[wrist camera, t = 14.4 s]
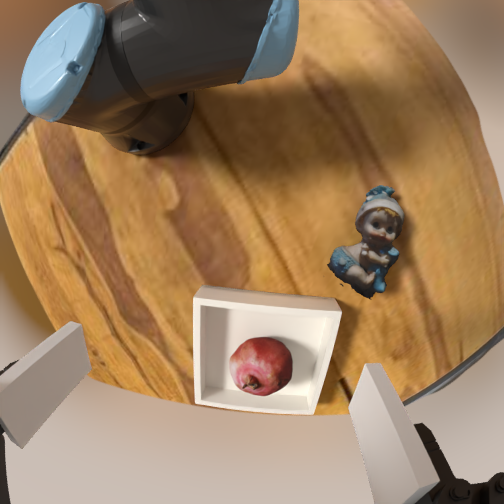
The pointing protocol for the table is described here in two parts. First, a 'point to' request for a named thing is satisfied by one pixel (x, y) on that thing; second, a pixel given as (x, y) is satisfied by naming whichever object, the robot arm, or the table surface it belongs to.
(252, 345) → the fruit
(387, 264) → the figurine
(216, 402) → the dish
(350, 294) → the table surface
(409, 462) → the robot arm
